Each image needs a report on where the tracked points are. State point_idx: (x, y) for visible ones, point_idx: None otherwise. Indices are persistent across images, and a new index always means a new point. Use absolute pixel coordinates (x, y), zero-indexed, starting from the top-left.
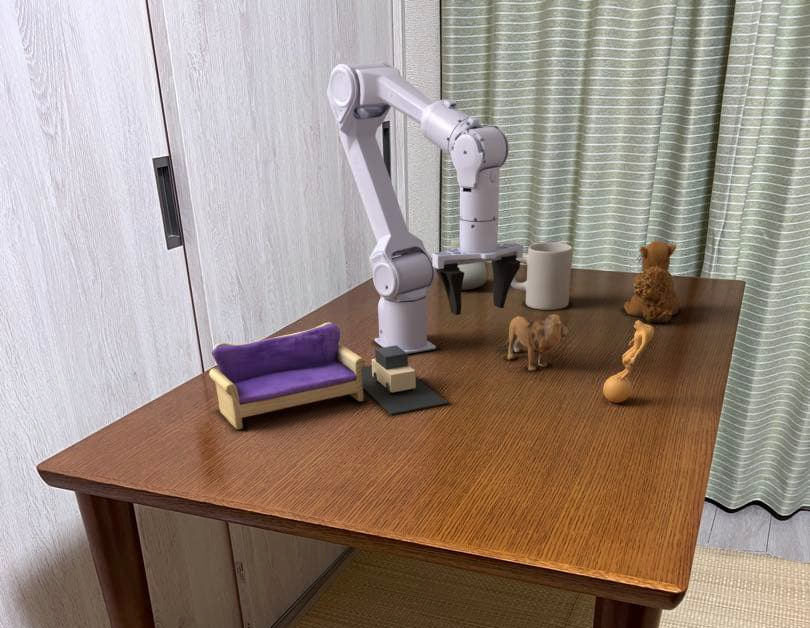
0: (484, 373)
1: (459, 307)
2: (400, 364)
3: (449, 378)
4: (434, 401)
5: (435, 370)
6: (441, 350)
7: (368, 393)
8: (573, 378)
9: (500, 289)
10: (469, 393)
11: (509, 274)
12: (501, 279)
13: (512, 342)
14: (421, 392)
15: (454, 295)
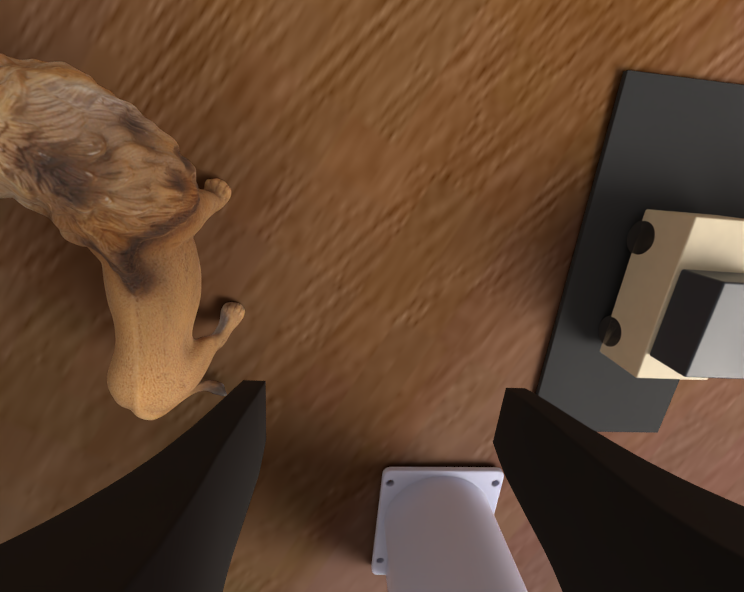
0: (372, 247)
1: (537, 405)
2: (716, 272)
3: (481, 266)
4: (650, 103)
5: (474, 339)
6: (372, 457)
7: None
8: (115, 23)
9: (232, 469)
10: (511, 119)
11: (120, 532)
12: (203, 536)
13: (211, 335)
14: (627, 195)
15: (632, 453)
